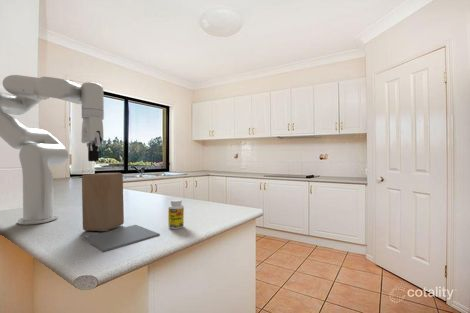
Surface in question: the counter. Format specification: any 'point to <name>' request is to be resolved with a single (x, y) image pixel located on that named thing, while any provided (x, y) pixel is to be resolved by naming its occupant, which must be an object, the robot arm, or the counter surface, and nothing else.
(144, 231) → the mat
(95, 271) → the counter surface
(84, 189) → the block
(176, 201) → the supplement bottle
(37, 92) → the robot arm
